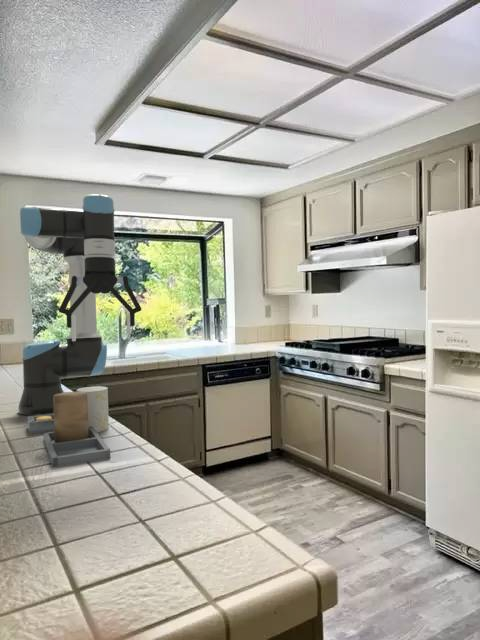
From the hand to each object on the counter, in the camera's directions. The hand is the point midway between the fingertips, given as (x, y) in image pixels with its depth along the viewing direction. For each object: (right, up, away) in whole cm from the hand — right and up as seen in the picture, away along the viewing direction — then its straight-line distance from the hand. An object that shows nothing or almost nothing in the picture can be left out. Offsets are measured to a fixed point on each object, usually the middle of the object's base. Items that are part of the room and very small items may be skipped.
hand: (101, 340), depth 122 cm
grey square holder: (-19, -26, +9) cm, 33 cm away
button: (-19, -25, +9) cm, 33 cm away
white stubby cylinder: (-5, -26, +9) cm, 28 cm away
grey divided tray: (-4, -26, -9) cm, 28 cm away
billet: (-6, -25, -4) cm, 26 cm away
